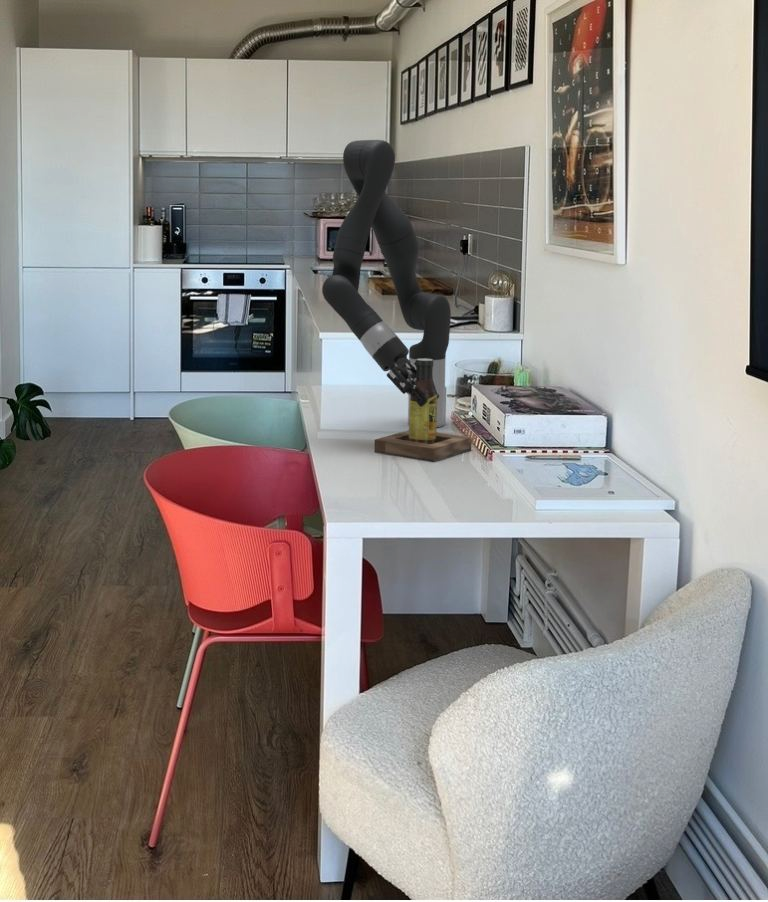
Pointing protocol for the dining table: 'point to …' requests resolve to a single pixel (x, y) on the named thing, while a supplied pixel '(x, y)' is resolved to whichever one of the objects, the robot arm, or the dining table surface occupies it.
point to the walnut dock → (423, 446)
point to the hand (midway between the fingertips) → (430, 401)
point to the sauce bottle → (424, 416)
